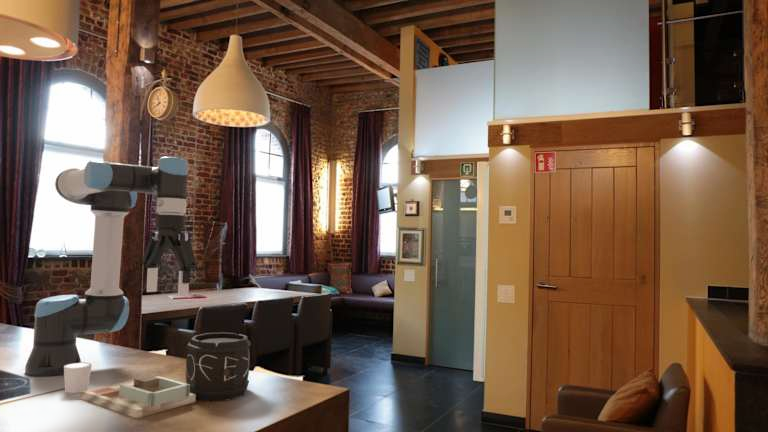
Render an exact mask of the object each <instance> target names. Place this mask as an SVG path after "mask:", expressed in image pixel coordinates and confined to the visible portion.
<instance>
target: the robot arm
mask: <svg viewBox="0 0 768 432" xmlns="http://www.w3.org/2000/svg"><path fill="white" fill-rule="evenodd" d="M188 165H189V163H188V161H187V160H186V159H185V158H182V157H175V156H161V157H160V158H159V159H158V164H157V167H156V166H148V165H147V166H146V165H139V164H129V163H119V162H111V161H110V162H109V161H106V160H89V161H88V162H87V163H86V166H85V167H84V168H75V167H74V168H68V169H66V170H63V171H61V172H60V173H59V174H58V176H57V177H56V178H55V185H54V186H55V190H56V192H57V193H58V195H59V196H60V197H61V198H62V199H65V201H67V202H71V203H73V204H76V205H84V206H90V212H91V213H92V214H93V215H94V216H95V220H94V230H93V231H94V232H93V245H92V247H93V248H92V261H91V274H90V275H91V276H90V287H89V288H88V289H87V290H86V291H85V292H84V298H80V297H79V295H78V294H62V295H60V294H59V295H54V296H49V297H46V298H43V299H40V300H39V301H38V302H37V303H36V304H35V305H36V306H35V311H34V329H33V330H34V331H33V346H32V349H31V351H30V354H29V357H28V358H27V362H26V363H25V368H24V369H25V372H24V373H25V374H26V375H29V376H36V377H50V376H51V377H52V376H59V375H64V366H65V365H67V364H72V363H82V359H81V357H80V353H79V350H78V348H77V336H80V335H90V334H91V335H93V334H100V333H102V334H103V333H104V334H109V333H112V332H119V331H120V330H122V328H124V327H125V325H126V323H127V322H128V319H129V314H130V301H129V299H128V298H127V296H124V291H123V290H122V289H121V288H120V277H121V276H120V275H121V265H122V262H121V261H122V247H123V235H124V231H123V230H124V222H125V217H126V216H127V215H128V214H130V209H132V208H134V207H135V206H136V203H137V200H138V193H139V194H141V193H142V194H148V195H153V196H156V209H155V210H156V213H158V214H156V216H155V223H154V224H155V225H154V227H155V228H156V229H158V231H150V233H149V241H148V243H147V245H146V249H145V252H144V255H143V258H142V259H141V260H142V261H141V265H142V266H145V268H146V292H147V293H154V292H158V279H159V275H158V274H159V266H158V264H159V262H160V260H161V258H162V256H163V255H164V254H165V252H166V251H168V250H170V251H172V253H173V254H174V256H175V259H176V260H177V263H178V265H179V267H180V269H179V271H178V282H177V284H178V286H177V289H178V290H177V297H185V296H187V297H188V296H189V292H190V291H189V288H190V283H191V282H190V281H191V271H192V270H195V269H197V267H198V266H197V261H196V258H195V254H194V251H193V247H192V242H191V233H189V232H182V231H183V230H185V229H186V215H185V214H187V192H188V190H187V189H188V188H187V187H188V175H189V168H188Z"/></svg>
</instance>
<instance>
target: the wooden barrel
mask: <svg viewBox="0 0 768 432" xmlns="http://www.w3.org/2000/svg"><path fill="white" fill-rule="evenodd" d="M251 343H252V342H251V341H250V340H249V337H248V335H245V334H241V333H237V332H236V333H235V332H234V333H233V332H206V333H202V334H197V335H193V337H192V338H191V339H190V341H189V342H188V344H186V348H185V349H187V355H186V362H185V363H186V364H185V365H186V366H185V383H186V384H190V393H193V394H196V400H195V401H205V400H209V401H208V402H218V401H219V400H220V401H228V400H227V399H230V400H233V398H234V399H236V398H235V397H237V398H239V397H242V396H244V395H245V392H246V390H248V387H249V382H250V380H248V379H249V373H250V357H251V352H250V349H251V348H250V347H251ZM241 395H242V396H241ZM238 396H239V397H238ZM220 401H219V402H220Z"/></svg>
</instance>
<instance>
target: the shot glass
mask: <svg viewBox="0 0 768 432" xmlns="http://www.w3.org/2000/svg"><path fill="white" fill-rule="evenodd" d="M91 371H92V363H91V362H81V363H72V364H67V365H65V366H64V374H63V378H64V392H65V393H68V394H77V393H82V391H85V390H89V386H90V379H91V378H90V377H91Z"/></svg>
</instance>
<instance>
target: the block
mask: <svg viewBox="0 0 768 432" xmlns="http://www.w3.org/2000/svg"><path fill="white" fill-rule="evenodd" d="M133 380H134V387H136V388H140V389H143V390H146V391H150V392H156V391H159V378H157V376H153V375H149V374H148V375H144V376H140V377H136V378H133Z"/></svg>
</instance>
